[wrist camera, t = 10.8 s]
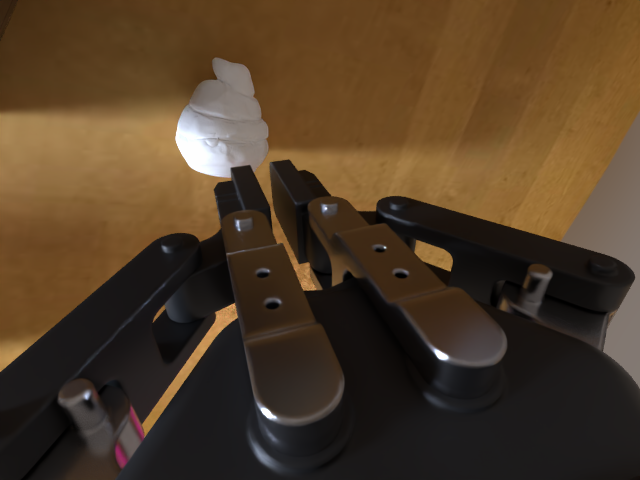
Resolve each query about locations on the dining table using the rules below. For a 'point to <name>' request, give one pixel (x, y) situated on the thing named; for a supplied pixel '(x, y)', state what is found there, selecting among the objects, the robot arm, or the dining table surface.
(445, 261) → the dining table surface
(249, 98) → the garlic bulb
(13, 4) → the cabinet
